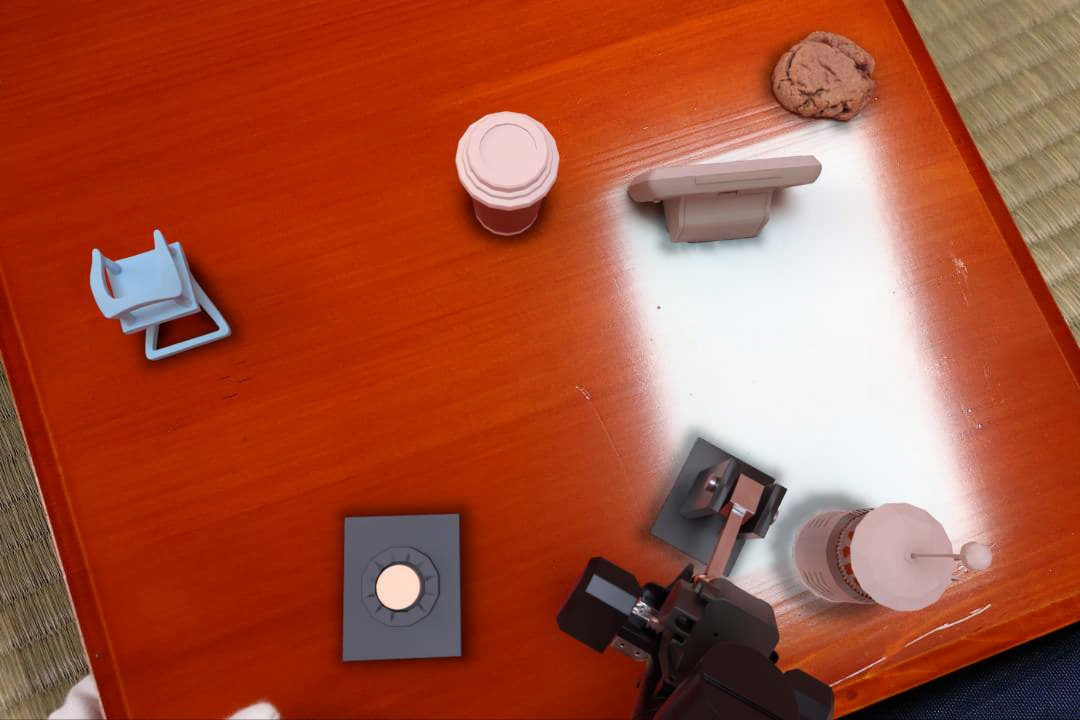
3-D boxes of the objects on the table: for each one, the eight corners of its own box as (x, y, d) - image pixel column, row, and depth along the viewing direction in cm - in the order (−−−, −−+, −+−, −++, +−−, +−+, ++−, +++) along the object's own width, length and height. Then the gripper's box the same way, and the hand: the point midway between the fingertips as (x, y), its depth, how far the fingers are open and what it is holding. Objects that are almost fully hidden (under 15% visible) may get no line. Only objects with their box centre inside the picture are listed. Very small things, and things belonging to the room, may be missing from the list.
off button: (421, 607, 73) (420, 608, 71) (378, 609, 73) (376, 610, 71) (421, 563, 74) (419, 564, 72) (379, 565, 74) (376, 565, 72)
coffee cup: (459, 163, 86) (453, 101, 74) (550, 161, 87) (558, 100, 75) (461, 249, 84) (455, 200, 72) (554, 247, 85) (563, 198, 73)
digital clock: (787, 172, 88) (826, 121, 77) (785, 256, 86) (824, 215, 75) (628, 156, 87) (645, 102, 77) (622, 240, 85) (639, 197, 75)
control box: (462, 653, 76) (460, 658, 72) (347, 658, 75) (339, 663, 71) (460, 514, 79) (458, 512, 75) (349, 518, 78) (341, 516, 74)
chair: (209, 256, 83) (161, 207, 71) (232, 335, 81) (187, 299, 69) (129, 281, 82) (67, 236, 70) (151, 362, 80) (91, 329, 69)
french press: (786, 493, 80) (912, 466, 56) (909, 514, 80) (1087, 496, 56) (776, 601, 78) (902, 622, 54) (902, 622, 78) (1085, 653, 54)
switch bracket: (724, 576, 78) (765, 581, 66) (647, 533, 79) (673, 529, 67) (771, 480, 81) (819, 467, 69) (696, 438, 81) (730, 418, 69)
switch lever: (709, 630, 65) (726, 618, 62) (671, 609, 65) (686, 596, 62) (755, 502, 72) (772, 487, 69) (721, 484, 72) (737, 467, 69)
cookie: (752, 65, 90) (761, 49, 87) (837, 25, 92) (848, 8, 89) (802, 144, 88) (813, 130, 85) (888, 101, 90) (901, 86, 87)
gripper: (886, 756, 48) (880, 573, 61) (592, 588, 49) (648, 444, 62) (781, 846, 54) (796, 662, 67) (521, 694, 55) (586, 543, 68)
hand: (709, 578), depth 66 cm, fingers closed on switch lever, 3 cm apart
